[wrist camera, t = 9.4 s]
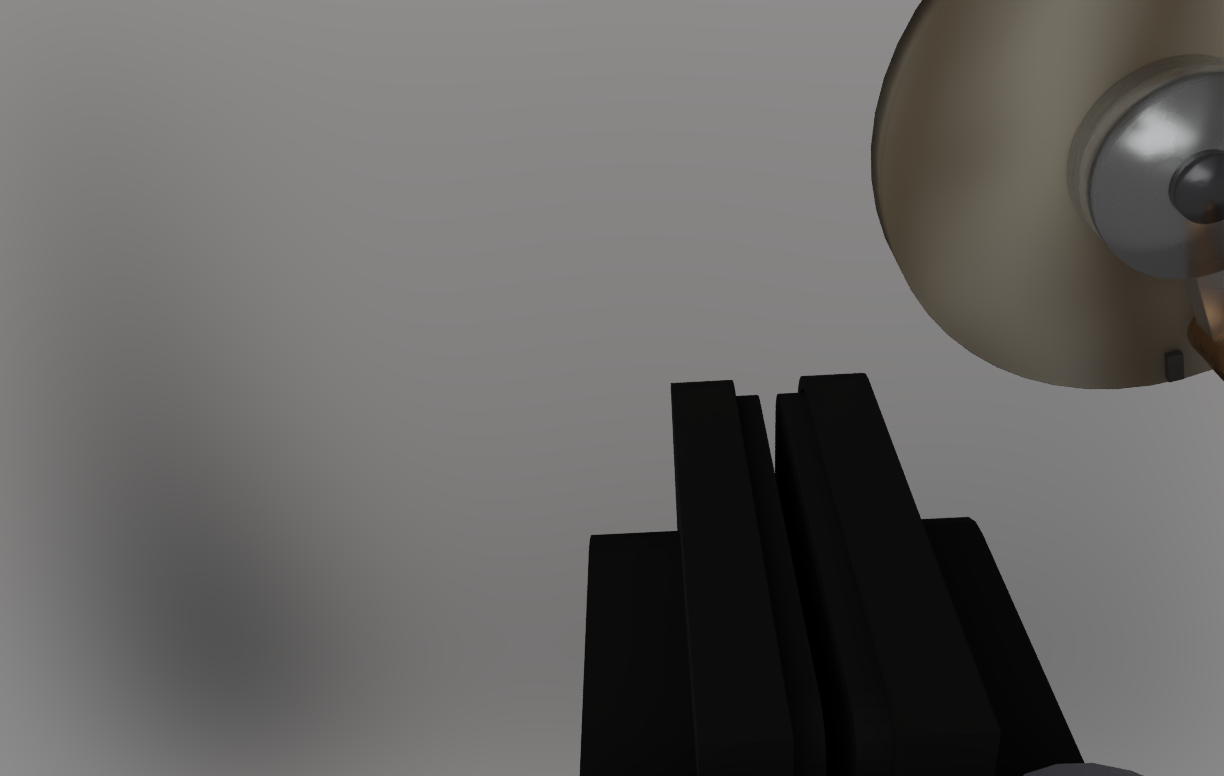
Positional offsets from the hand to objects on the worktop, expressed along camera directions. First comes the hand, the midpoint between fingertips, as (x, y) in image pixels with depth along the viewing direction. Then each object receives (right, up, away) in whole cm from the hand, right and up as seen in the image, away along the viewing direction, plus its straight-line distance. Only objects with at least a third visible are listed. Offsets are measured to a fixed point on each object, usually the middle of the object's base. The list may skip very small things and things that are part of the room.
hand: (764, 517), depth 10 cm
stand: (+15, +9, +26) cm, 32 cm away
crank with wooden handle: (+17, +7, +25) cm, 31 cm away
